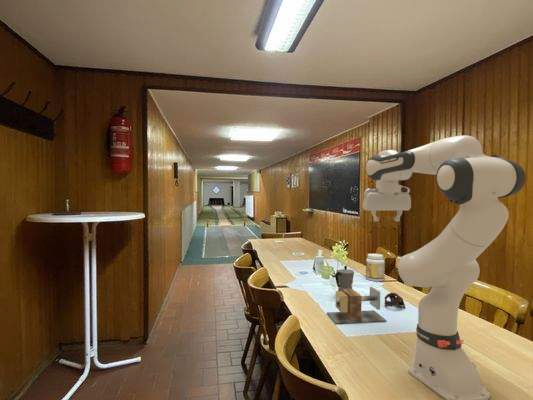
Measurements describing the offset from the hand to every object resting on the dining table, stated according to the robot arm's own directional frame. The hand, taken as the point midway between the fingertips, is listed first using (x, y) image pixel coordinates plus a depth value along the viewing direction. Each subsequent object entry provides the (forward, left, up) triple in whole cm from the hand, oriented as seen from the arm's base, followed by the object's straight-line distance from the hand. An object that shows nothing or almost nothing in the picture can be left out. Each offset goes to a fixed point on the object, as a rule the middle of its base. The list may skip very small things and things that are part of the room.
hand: (386, 221), depth 131 cm
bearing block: (+13, +8, -46) cm, 49 cm away
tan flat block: (+13, +15, -38) cm, 43 cm away
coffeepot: (+40, +3, -47) cm, 62 cm away
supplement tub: (+75, -33, -47) cm, 94 cm away
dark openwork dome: (+25, -18, -47) cm, 56 cm away
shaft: (+13, +7, -41) cm, 44 cm away
